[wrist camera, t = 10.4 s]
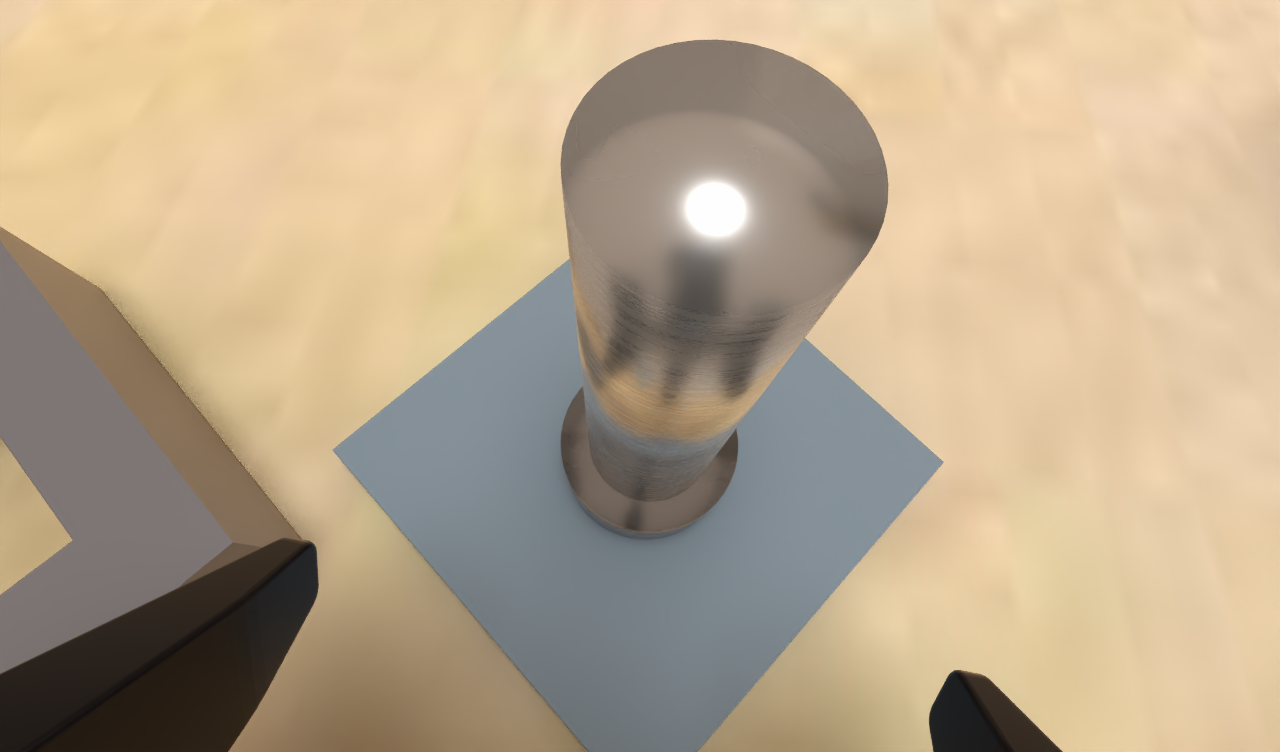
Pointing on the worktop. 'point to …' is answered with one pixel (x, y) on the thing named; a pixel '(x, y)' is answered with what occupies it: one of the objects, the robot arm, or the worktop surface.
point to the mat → (620, 566)
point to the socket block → (108, 461)
